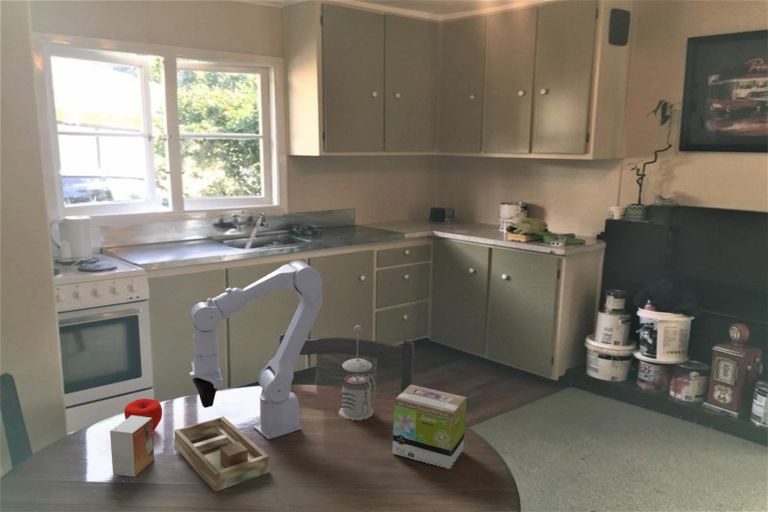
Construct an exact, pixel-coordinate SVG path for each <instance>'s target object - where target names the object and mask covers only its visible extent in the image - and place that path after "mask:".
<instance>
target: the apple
mask: <svg viewBox="0 0 768 512" xmlns="http://www.w3.org/2000/svg"><path fill="white" fill-rule="evenodd" d="M123 412H124V419H125V420H126V419H128V418H129V417H130V416H131V415H133V416H141V417H149V418H152V419H153V432H155V430H156V428H157V427H158V426H159V424H160V423H161V420H162V416H163V407H162V403H161V402H159V400H157V399H152V398H140V399H136V400H133V401H131V402H128V404H126V406H125V407H124V411H123ZM125 420H124V421H125Z"/></svg>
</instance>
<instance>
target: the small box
mask: <svg viewBox="0 0 768 512" xmlns="http://www.w3.org/2000/svg"><path fill="white" fill-rule="evenodd" d="M109 433H110V436H109V437H110V448H111V449H110V452H111V465H112V474H113V475H118V476H125V477H131V478H132V477H134V478H135V477H136V476H138V474H140V473H141V472H142V471H143V470H144V469H145V468H146V467H148V466H149V465H150V464H151V463H153V460H154V461H155V447H154V446H155V445H154V443H155V442H154V431H153V419H152V418H149V417H141V416H133V415H131V416H130V417H129V418H128V419H126V420H123V421H122V422H121V423H120V424H119V423H118V424H117V426H115V427H114V428H112V429H110V430H109Z"/></svg>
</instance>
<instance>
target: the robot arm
mask: <svg viewBox="0 0 768 512" xmlns="http://www.w3.org/2000/svg"><path fill="white" fill-rule="evenodd" d="M323 282H324V281H323V279H322V277H321V275H320V273H319V272H318V270H317V269H315V268H314V267H311V265H308V264H307V262H305V261H303V260H301V259H300V260H297V259H295V260H293V261H291V262H289V264H288V263H286V264H283V265H282V266H281V267H280V266H279V268H277V269H276V270H274V271H272V272H271V273H269V274H266V276H263V277H262V278H260V279H258V280H257V281H255V282H253V283H251V284H249V285H247V286H246V287H244V288H239V287H233V288H231V287H227V288H226V289H224V291H225V292H223V293H221V294H219V295H217V296H215V297H213V298H211V297H209V298H207V299H206V301H207V302H206V301H205V302H204V301H200V302H198V303H196V304H195V305H194V306H193V307H192V309H191V310H190V313H189V317H190V320H191V322H192V323H193V324H192V333H193V334H192V351H193V352H192V353H193V355H192V358H193V361H191V362H190V369H191V371H190V372H189V373H188V375H189V376H190V377H191V378H192V383H193V384H194V386H195V388H196V389H197V390H196V391H197V393H198V394H199V395H198V396H199V399H200V403H201V406H202V407H203V408H204V409H206V408H211V407H213V406H214V402H215V397H216V393H217V390H218V389H219V388H224V379H223V377H222V375H221V371H220V368H219V366H220V365H219V334H218V331H217V330H218V326H219V324H220V322H222V321H224V320H226V319H229V318H230V317H232V316H234V315H237V314H238V313H240V312H242V311H244V310H246V309H247V308H248V305H249V303H250V302H251V301H254V300H255V299H257V298H259V297H262V296H263V295H266V294H269V293H271V292H274V291H275V290H277V289H286V290H291V291H293V290H294V291H296V293H297V296H298V299H299V300H300V301H299V303H298V305H297V306H298V307H296V308H297V309H296V310H295V313H294V315H293V317H292V319H291V321H290V323H289V325H288V328H287V330H286V331H285V335H284V337H283V338H282V340H281V342H280V345H279V346H278V349H277V352H276V354H275V356H274V357H273V358H271V359H270V360H268V363H267V364H266V366H265V367H264V368H263V369H261V371H260V372H259V374H258V376H257V382H258V384H259V386H260V387H261V392H260V395H259V413H260V415H259V416H260V417H259V418H260V419H259V421H260V423H259V424H255V425H254V426H253V428H254V430H256V431H257V432H258V433H260V434H261V435H262V436H263V437H264V438H265V439H267V440H271V439H274V438H278V437H282V436H284V435H287V434H290V433H293V432H296V431H299V430H301V429H302V427H301V426H300V404H299V400H298V397H297V395H296V393H294V392H292V382H293V379H294V367H295V364H296V362H297V360H298V358H299V355H300V353H301V351H302V349H303V347H304V346H305V342H306V340H307V339H308V336H309V334H310V332H311V329H312V327H313V325H314V323H315V321H316V319H317V316H318V314H319V312H320V310H321V308H322V305H323V302H324V300H323V286H322V285H323ZM190 377H189V378H190Z"/></svg>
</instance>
